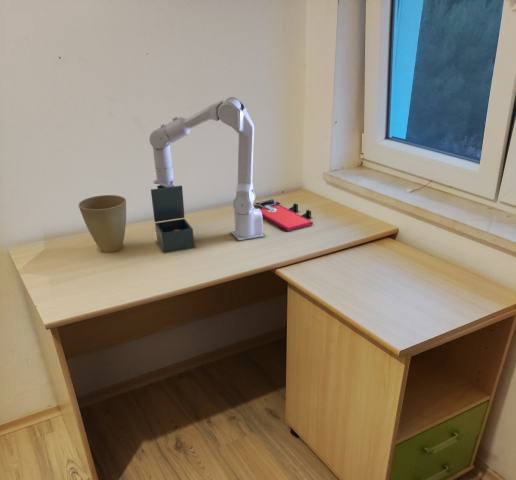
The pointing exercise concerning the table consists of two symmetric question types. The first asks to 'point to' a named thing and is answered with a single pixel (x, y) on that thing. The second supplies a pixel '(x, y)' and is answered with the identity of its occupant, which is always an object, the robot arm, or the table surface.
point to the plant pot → (105, 220)
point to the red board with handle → (284, 215)
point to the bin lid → (167, 203)
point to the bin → (174, 235)
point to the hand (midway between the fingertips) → (168, 206)
